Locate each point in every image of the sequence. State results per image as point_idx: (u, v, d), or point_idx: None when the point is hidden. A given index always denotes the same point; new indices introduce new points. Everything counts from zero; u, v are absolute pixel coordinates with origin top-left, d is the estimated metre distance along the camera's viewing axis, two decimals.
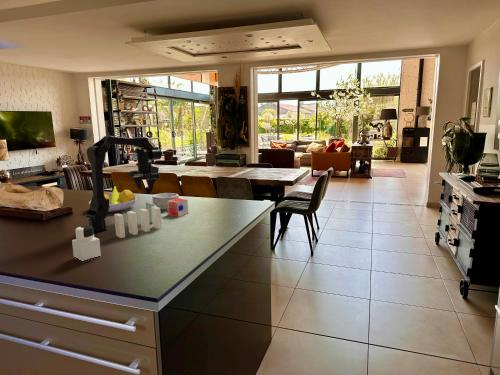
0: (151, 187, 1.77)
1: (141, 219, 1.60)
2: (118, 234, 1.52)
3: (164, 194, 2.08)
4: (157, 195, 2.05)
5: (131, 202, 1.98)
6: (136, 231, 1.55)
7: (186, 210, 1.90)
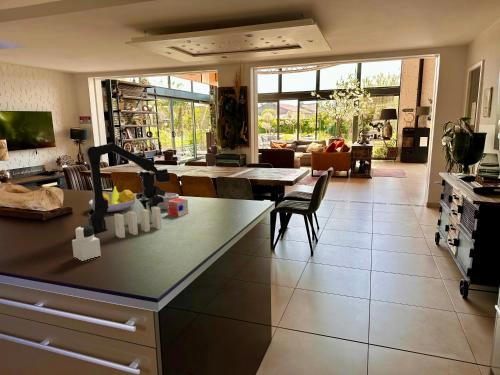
0: None
1: (141, 219, 1.60)
2: (118, 234, 1.52)
3: None
4: None
5: (131, 202, 1.98)
6: (136, 231, 1.55)
7: (186, 210, 1.90)
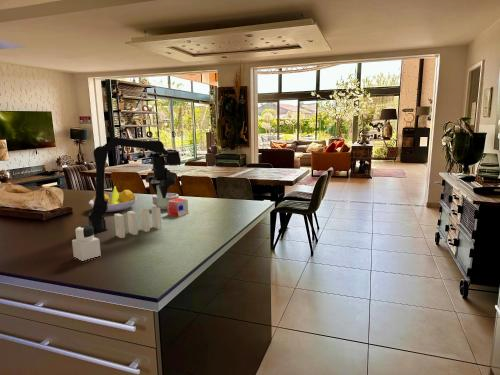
0: (164, 194, 1.66)
1: (141, 219, 1.60)
2: (118, 234, 1.52)
3: None
4: None
5: (131, 202, 1.98)
6: (136, 231, 1.55)
7: (186, 210, 1.90)
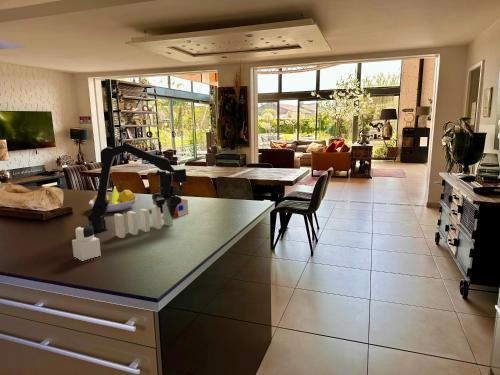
0: (172, 212, 1.64)
1: (141, 219, 1.60)
2: (118, 234, 1.52)
3: None
4: None
5: (131, 202, 1.98)
6: (136, 231, 1.55)
7: (186, 210, 1.90)
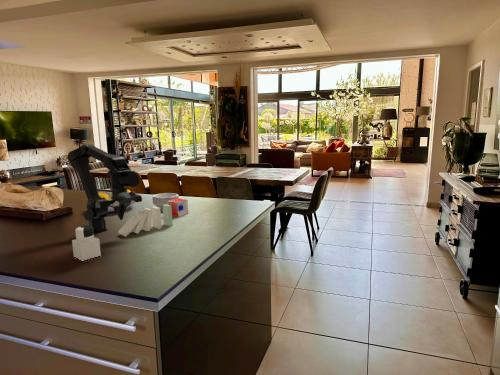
0: (118, 215, 1.51)
1: None
2: (122, 231, 1.53)
3: (164, 194, 2.08)
4: (157, 195, 2.05)
5: (131, 202, 1.98)
6: (137, 231, 1.55)
7: (186, 210, 1.90)
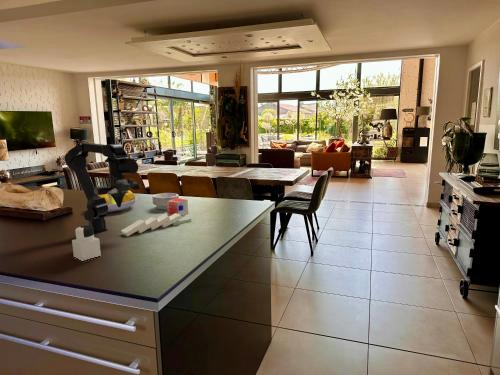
0: (116, 202, 1.52)
1: None
2: (126, 230, 1.54)
3: (164, 194, 2.08)
4: (157, 195, 2.05)
5: (131, 202, 1.98)
6: (141, 230, 1.57)
7: (186, 210, 1.90)
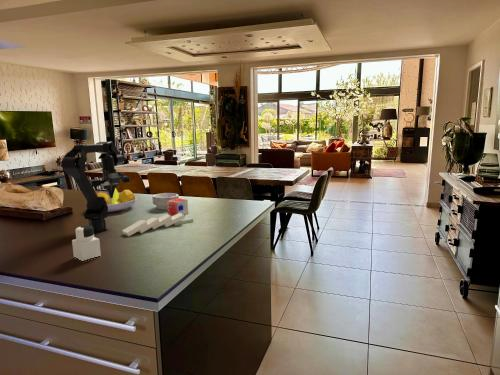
0: (108, 193, 1.70)
1: (159, 218, 1.66)
2: (127, 230, 1.54)
3: (164, 194, 2.08)
4: (157, 195, 2.05)
5: (131, 202, 1.98)
6: (143, 230, 1.57)
7: (186, 210, 1.90)
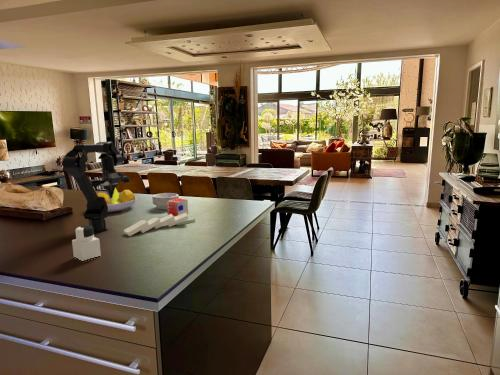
0: (108, 194, 1.71)
1: (162, 218, 1.67)
2: (128, 230, 1.54)
3: (164, 194, 2.08)
4: (157, 195, 2.05)
5: (131, 202, 1.98)
6: (144, 230, 1.57)
7: (186, 210, 1.90)
